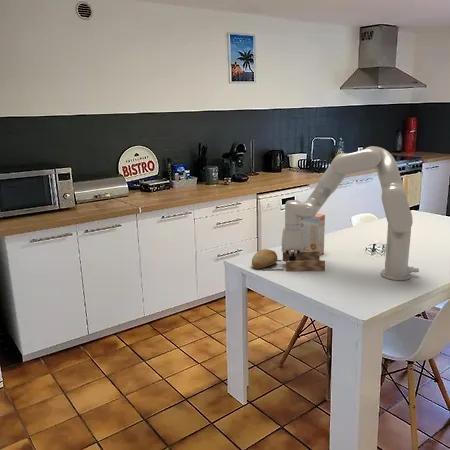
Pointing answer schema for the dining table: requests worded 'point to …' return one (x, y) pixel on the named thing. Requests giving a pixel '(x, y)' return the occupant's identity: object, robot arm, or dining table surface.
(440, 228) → the dining table surface
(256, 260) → the bread roll
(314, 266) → the channel
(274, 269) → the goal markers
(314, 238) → the cracker box
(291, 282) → the dining table surface
